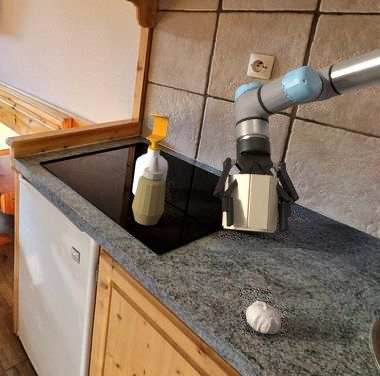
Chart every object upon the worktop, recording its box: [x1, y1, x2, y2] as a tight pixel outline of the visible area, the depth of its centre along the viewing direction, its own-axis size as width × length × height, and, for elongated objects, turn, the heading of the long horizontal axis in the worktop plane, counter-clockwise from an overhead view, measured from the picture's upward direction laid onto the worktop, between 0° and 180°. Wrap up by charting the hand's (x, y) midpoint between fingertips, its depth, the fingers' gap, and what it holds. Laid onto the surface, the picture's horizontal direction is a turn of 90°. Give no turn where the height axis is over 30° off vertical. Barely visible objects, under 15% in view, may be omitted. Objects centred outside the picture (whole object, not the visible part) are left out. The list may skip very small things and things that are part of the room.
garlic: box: [245, 300, 282, 335], centre depth 71 cm, size 6×5×5 cm
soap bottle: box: [132, 113, 170, 196], centre depth 116 cm, size 9×9×25 cm
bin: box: [221, 173, 280, 234], centre depth 98 cm, size 11×11×13 cm
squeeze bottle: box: [131, 156, 166, 227], centre depth 103 cm, size 8×8×18 cm
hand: (256, 228), depth 93 cm, fingers closed on bin, 11 cm apart
